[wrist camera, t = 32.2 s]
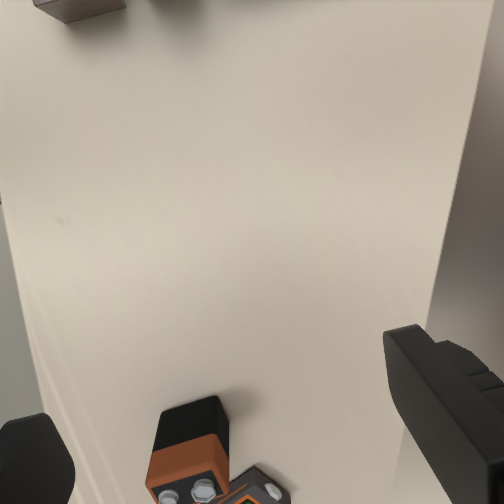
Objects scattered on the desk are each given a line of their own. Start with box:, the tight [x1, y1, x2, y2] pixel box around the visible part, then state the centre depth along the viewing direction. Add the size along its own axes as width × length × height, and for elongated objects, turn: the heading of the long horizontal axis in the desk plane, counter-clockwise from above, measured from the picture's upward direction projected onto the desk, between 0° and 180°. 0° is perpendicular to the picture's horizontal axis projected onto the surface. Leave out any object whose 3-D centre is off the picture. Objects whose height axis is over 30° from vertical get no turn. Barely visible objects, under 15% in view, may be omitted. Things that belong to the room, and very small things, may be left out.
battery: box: [145, 396, 229, 504], centre depth 39 cm, size 4×7×10 cm, turn 109°
